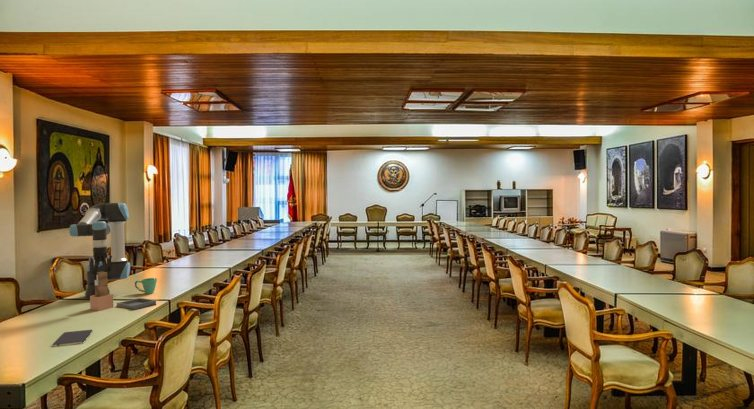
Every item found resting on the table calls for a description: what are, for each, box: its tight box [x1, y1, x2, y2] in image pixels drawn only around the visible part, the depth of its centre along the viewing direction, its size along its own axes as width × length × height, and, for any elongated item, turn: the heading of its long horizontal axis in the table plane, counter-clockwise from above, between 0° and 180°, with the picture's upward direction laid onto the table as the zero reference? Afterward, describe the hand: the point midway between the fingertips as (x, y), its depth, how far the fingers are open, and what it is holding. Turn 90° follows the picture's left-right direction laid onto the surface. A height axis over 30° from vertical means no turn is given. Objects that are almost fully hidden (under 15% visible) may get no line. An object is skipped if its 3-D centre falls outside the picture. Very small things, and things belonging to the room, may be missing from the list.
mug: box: [134, 277, 158, 295], centre depth 346 cm, size 15×10×10 cm
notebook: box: [52, 329, 93, 347], centre depth 242 cm, size 13×2×21 cm
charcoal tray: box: [116, 297, 157, 312], centre depth 307 cm, size 16×16×3 cm
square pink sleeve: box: [89, 293, 114, 311], centre depth 300 cm, size 9×9×9 cm
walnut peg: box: [95, 272, 109, 297], centre depth 300 cm, size 5×5×17 cm
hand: (101, 284), depth 300 cm, fingers closed on walnut peg, 5 cm apart
